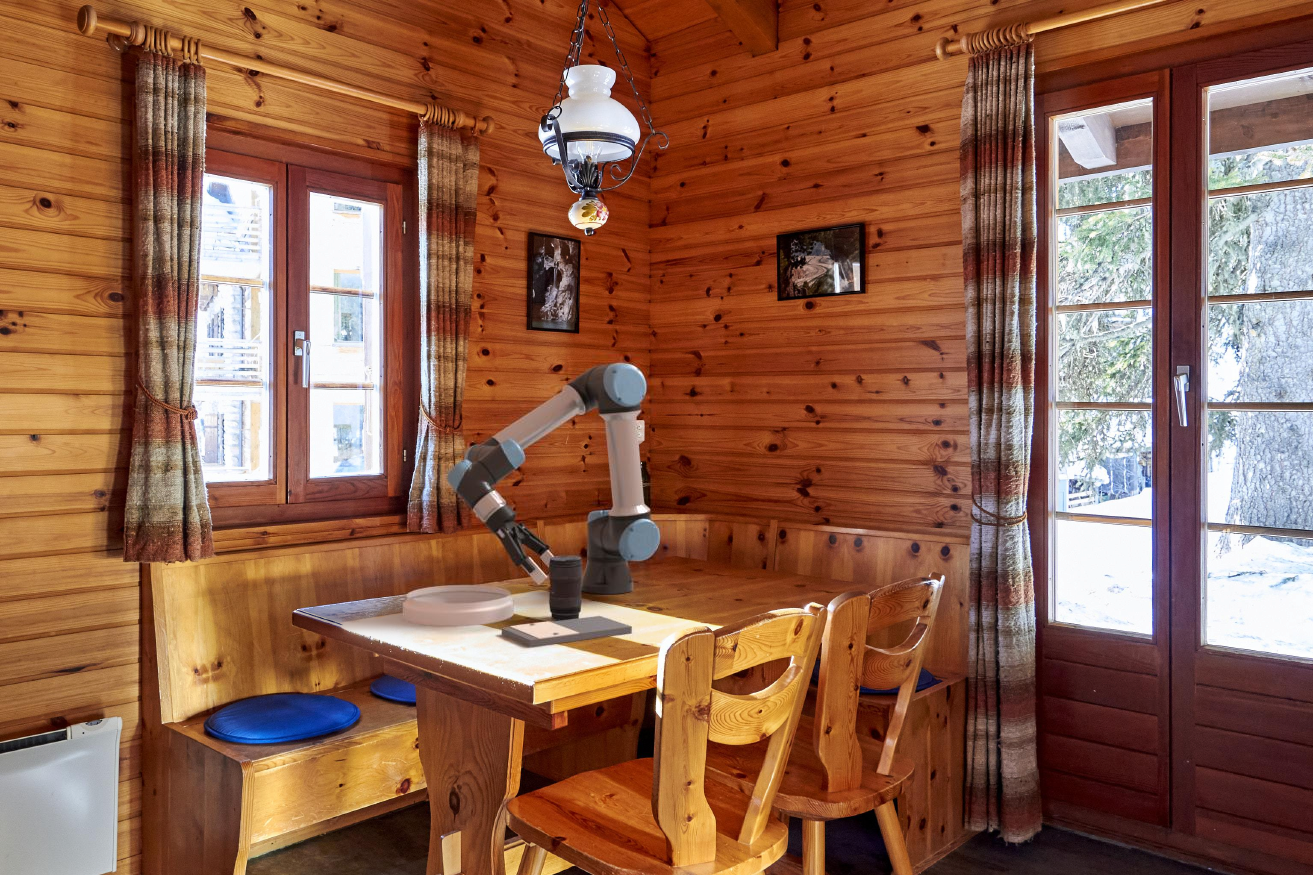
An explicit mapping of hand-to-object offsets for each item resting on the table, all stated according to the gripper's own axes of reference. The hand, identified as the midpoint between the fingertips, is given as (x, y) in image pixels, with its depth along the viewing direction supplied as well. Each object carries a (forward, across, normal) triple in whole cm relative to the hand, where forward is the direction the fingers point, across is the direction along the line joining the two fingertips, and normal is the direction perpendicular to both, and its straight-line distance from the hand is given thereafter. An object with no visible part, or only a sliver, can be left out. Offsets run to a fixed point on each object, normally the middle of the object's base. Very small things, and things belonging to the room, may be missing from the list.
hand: (552, 576), depth 228 cm
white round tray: (-9, +2, -24) cm, 26 cm away
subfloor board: (+13, +15, -1) cm, 20 cm away
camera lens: (+10, -1, -5) cm, 11 cm away
